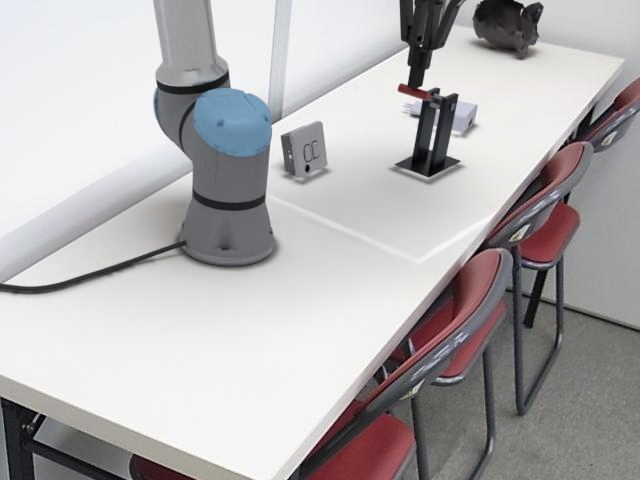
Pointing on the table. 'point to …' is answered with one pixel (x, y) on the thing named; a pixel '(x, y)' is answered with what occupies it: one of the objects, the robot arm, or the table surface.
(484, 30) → the dark grey rounded piece
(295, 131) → the electrical switch
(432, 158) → the bracket
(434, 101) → the lever
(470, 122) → the charger
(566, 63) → the table surface
